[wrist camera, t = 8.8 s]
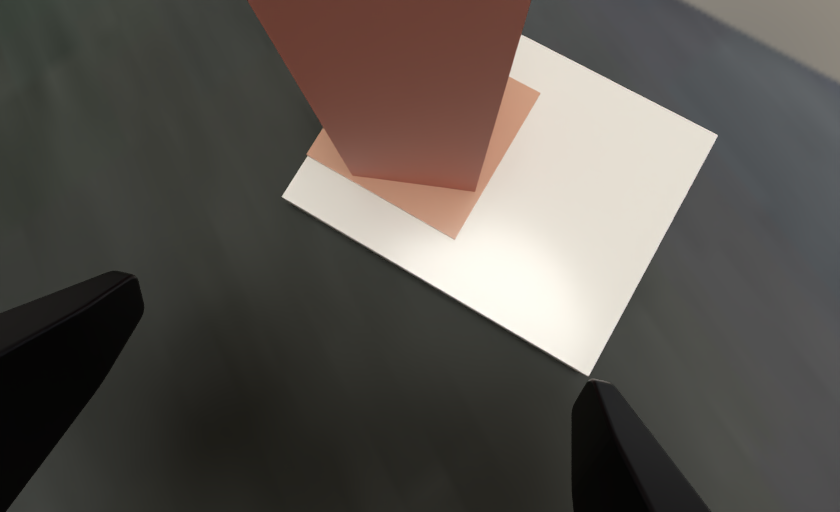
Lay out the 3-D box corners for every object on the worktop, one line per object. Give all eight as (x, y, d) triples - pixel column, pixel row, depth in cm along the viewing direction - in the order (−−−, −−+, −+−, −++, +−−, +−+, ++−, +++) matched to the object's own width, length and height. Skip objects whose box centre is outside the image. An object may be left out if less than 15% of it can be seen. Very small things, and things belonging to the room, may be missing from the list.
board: (701, 146, 20) (721, 133, 18) (578, 372, 19) (590, 377, 17) (419, 0, 21) (418, -22, 20) (291, 204, 20) (280, 195, 19)
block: (474, 191, 19) (540, -34, 7) (352, 175, 19) (206, -70, 7) (491, 75, 19) (577, -321, 7) (371, 60, 19) (268, -342, 8)
